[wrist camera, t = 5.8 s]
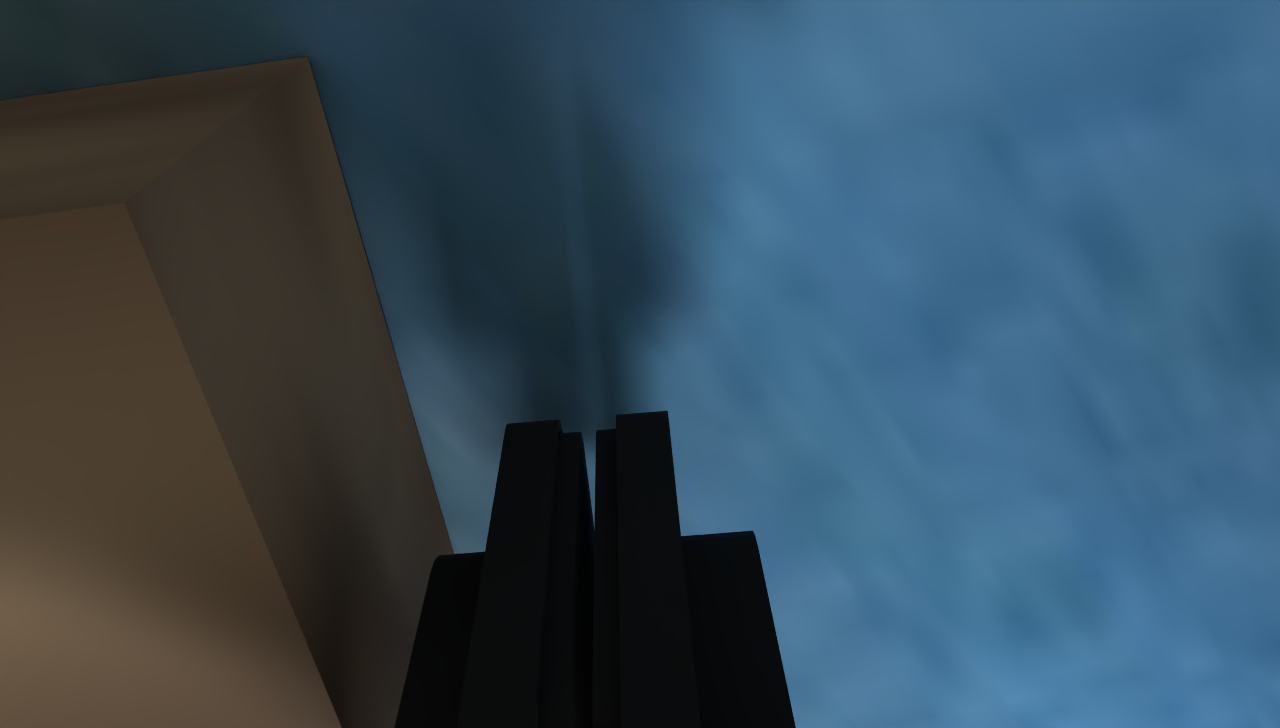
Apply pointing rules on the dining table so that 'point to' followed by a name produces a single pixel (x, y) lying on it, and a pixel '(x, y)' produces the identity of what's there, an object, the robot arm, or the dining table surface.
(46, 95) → the t block
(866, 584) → the dining table surface
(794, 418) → the dining table surface
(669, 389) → the dining table surface
